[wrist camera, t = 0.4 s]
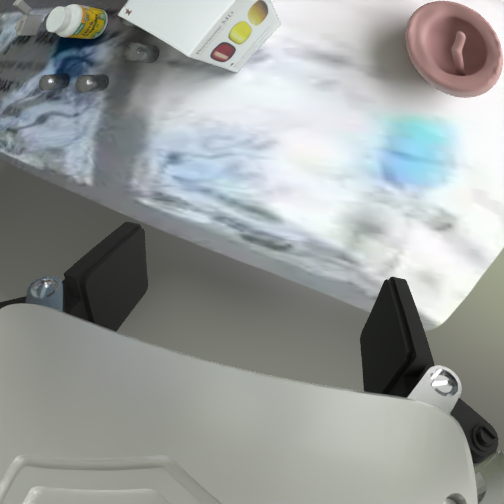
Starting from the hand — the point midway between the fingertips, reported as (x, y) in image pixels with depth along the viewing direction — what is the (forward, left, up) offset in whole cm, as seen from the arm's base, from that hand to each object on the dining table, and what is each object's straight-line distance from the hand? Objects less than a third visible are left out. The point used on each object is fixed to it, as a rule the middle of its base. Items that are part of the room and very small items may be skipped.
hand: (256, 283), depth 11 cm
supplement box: (-14, -13, -31) cm, 36 cm away
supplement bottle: (-14, -36, -31) cm, 49 cm away
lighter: (-17, -52, -31) cm, 62 cm away
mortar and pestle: (-20, +13, -31) cm, 39 cm away
